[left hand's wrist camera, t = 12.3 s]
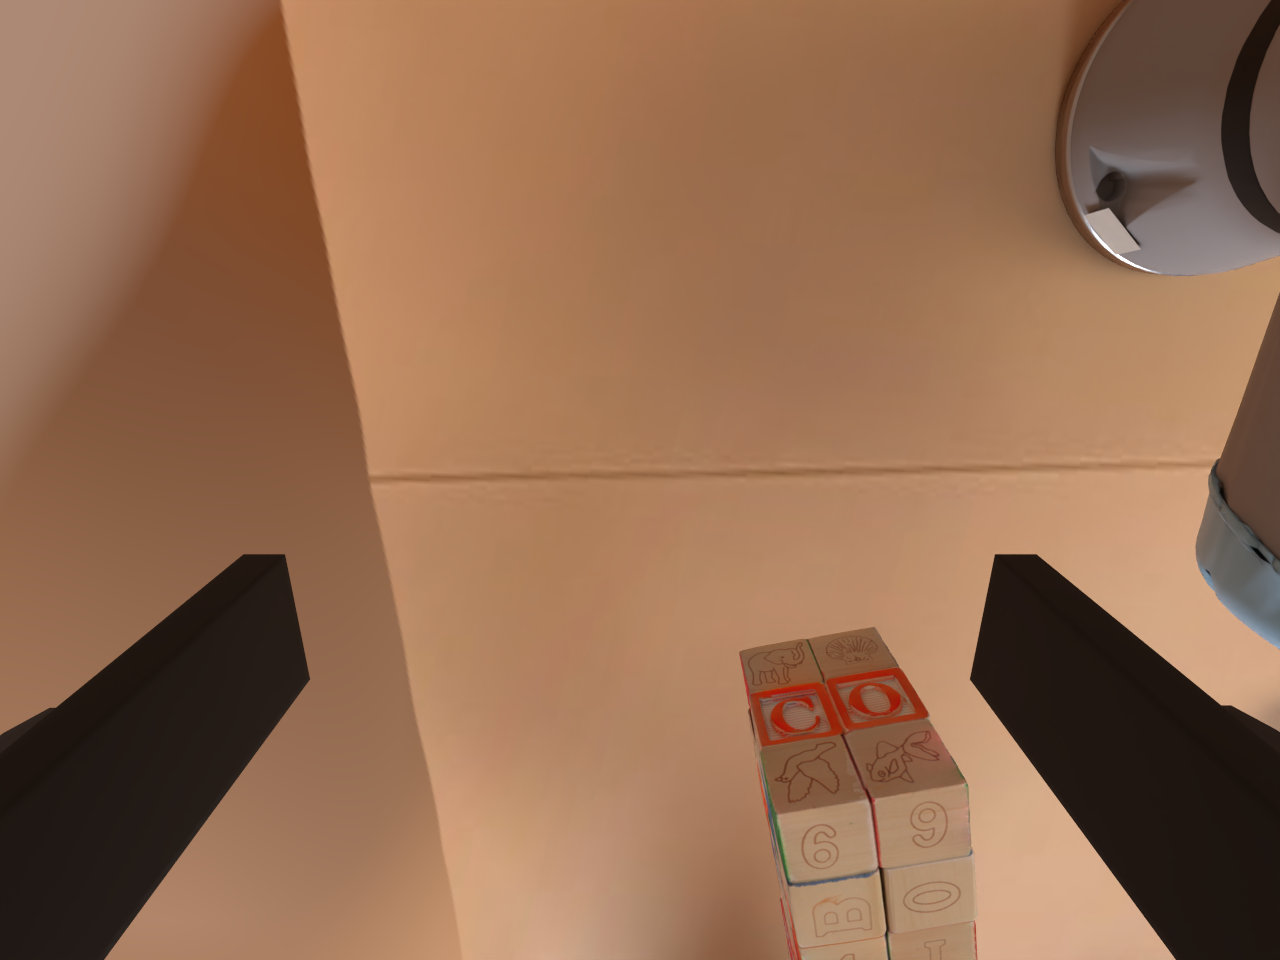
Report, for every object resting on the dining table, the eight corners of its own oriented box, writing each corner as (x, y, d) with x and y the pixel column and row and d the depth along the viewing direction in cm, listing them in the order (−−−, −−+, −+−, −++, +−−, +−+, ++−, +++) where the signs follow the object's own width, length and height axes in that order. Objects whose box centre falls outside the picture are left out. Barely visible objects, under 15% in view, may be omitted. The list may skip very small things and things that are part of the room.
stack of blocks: (733, 646, 30) (796, 901, 18) (874, 621, 30) (1030, 864, 18) (792, 977, 37) (865, 1314, 25) (907, 960, 37) (1035, 1293, 25)
